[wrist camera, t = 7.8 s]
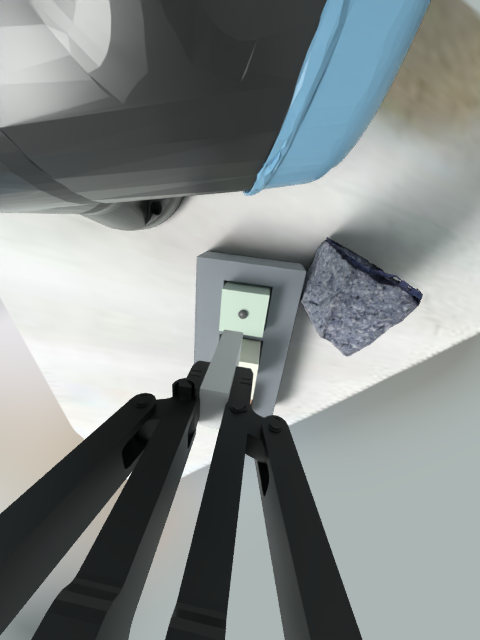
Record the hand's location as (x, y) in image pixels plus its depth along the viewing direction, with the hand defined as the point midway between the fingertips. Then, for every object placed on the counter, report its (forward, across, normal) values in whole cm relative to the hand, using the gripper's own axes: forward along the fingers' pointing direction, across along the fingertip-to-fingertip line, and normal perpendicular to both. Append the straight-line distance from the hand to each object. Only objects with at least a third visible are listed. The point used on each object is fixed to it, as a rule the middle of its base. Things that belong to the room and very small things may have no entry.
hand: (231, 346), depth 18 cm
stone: (+15, +10, +2) cm, 18 cm away
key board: (+14, 0, -8) cm, 16 cm away
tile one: (+12, 0, -1) cm, 12 cm away
